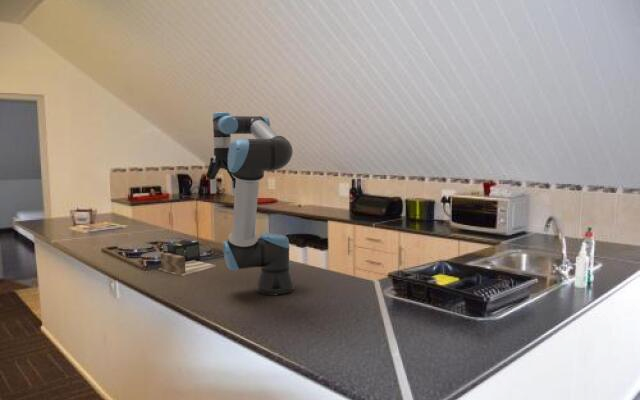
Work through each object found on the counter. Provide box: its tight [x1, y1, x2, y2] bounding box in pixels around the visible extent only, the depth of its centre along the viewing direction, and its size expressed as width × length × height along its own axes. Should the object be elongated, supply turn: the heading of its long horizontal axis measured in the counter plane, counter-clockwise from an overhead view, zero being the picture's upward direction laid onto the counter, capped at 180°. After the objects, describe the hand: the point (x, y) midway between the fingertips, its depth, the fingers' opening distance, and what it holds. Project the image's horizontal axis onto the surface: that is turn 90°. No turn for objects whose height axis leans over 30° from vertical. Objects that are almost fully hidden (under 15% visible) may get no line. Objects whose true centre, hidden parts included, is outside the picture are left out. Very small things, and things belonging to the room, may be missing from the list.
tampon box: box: [162, 239, 201, 262], centre depth 249 cm, size 11×9×15 cm
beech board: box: [158, 253, 217, 277], centre depth 235 cm, size 18×20×8 cm
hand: (223, 194), depth 223 cm, fingers open, 13 cm apart
